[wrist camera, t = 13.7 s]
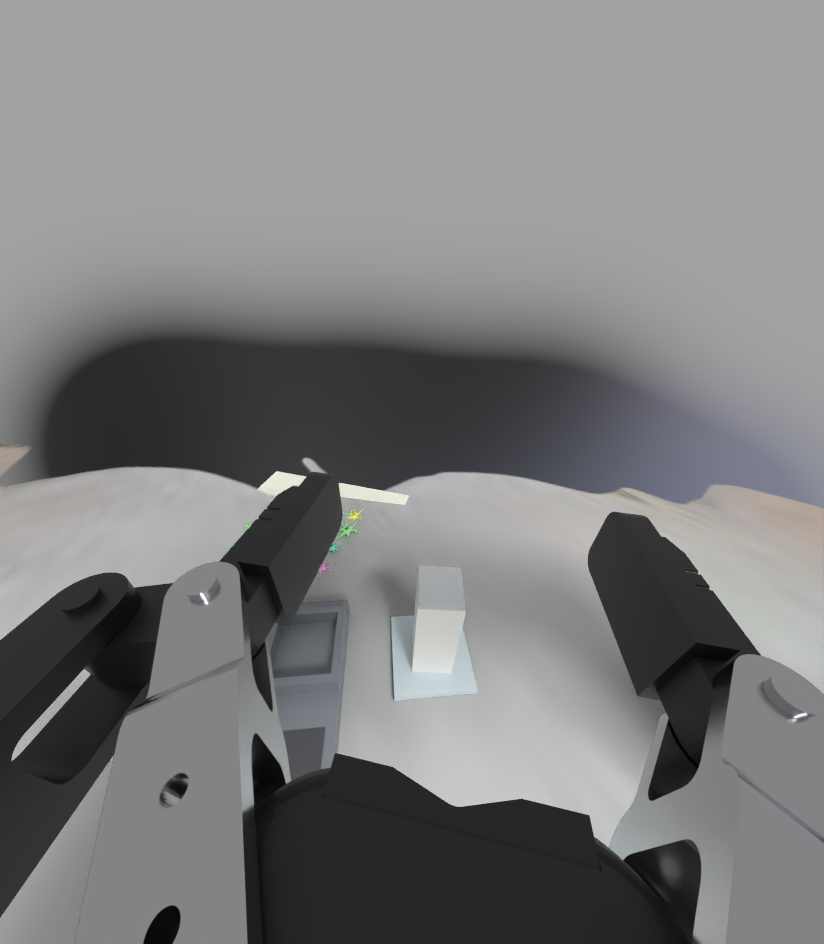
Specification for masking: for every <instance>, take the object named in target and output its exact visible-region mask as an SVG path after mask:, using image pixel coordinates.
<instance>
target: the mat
mask: <svg viewBox="0 0 824 944" xmlns="http://www.w3.org/2000/svg"><path fill="white" fill-rule="evenodd" d="M413 625H414V615H411V616H396V617H391V628H392V655H393V682H394V701H398V700H409V699H419V698H430V697H440V696H451V695H462V694H472V693H477V691H478V690H477V686H476V681H475V677H474V673H473V669H472V664H471V660H470V656H469V652H468V647H467V643H466V639H465V635H464V630H463V627H462V631H461V635H460V639H459V643H458V647H457V651H456V656H455V660H454V664H453V668H452V672H451V673H434V672H413V671H412V651H413Z"/></svg>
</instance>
